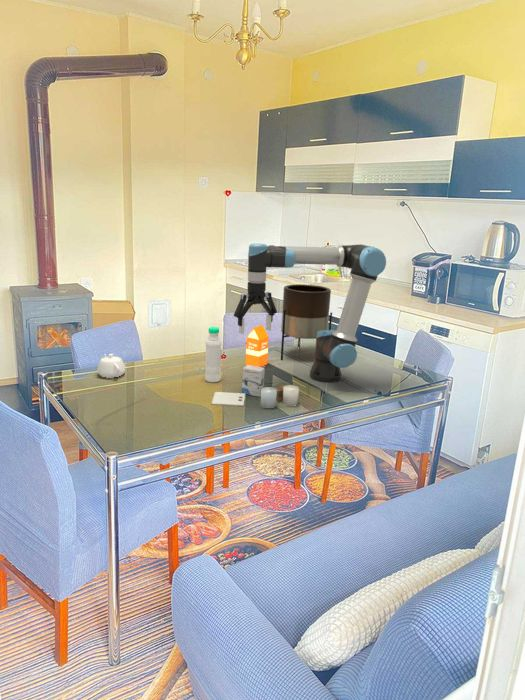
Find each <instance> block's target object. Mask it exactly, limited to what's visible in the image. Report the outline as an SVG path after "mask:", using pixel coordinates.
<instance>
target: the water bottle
mask: <svg viewBox="0 0 525 700" xmlns="http://www.w3.org/2000/svg"><path fill="white" fill-rule="evenodd" d="M219 334H220V328H219V327H217V326H209V327H208V335H209V336H207V340H206V341H205V369H204V371H205V375H204V378H205V381H206V382H208V383H219V382H220V381H221V377H222V376H221V370H222V369H221V367H222V366H221V364H222V363H221V361H222V341H221V338H220V336H219Z"/></svg>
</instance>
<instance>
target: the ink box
mask: <svg viewBox="0 0 525 700" xmlns="http://www.w3.org/2000/svg"><path fill="white" fill-rule="evenodd" d="M265 370H266V369H265V367H263V366H262V367H257V366H251V365H245V366H243V368H242V383H241V393H245V395H247V396H253V397H260V398H261V389H262V388H265V385H264V384H265Z"/></svg>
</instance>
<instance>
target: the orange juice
mask: <svg viewBox="0 0 525 700" xmlns="http://www.w3.org/2000/svg"><path fill="white" fill-rule="evenodd" d="M245 347H246V348H245V366H247V365H251V366H257V367H263V366H266V365H268V357H269V356H268V355H269V353H268V352H269V334H268V333H267V331H266V328H265V327H264V325H263V324H262V325H258V326H255V327H253V328H252V329H251V331H250V332H249V334H248V335H247V336H246V346H245Z"/></svg>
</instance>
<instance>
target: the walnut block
mask: <svg viewBox="0 0 525 700" xmlns="http://www.w3.org/2000/svg"><path fill="white" fill-rule="evenodd" d="M284 386H285V385H277V386H272V388H275V389H276V390H277V396H276V402H277V401H279V402H283V387H284Z"/></svg>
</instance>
